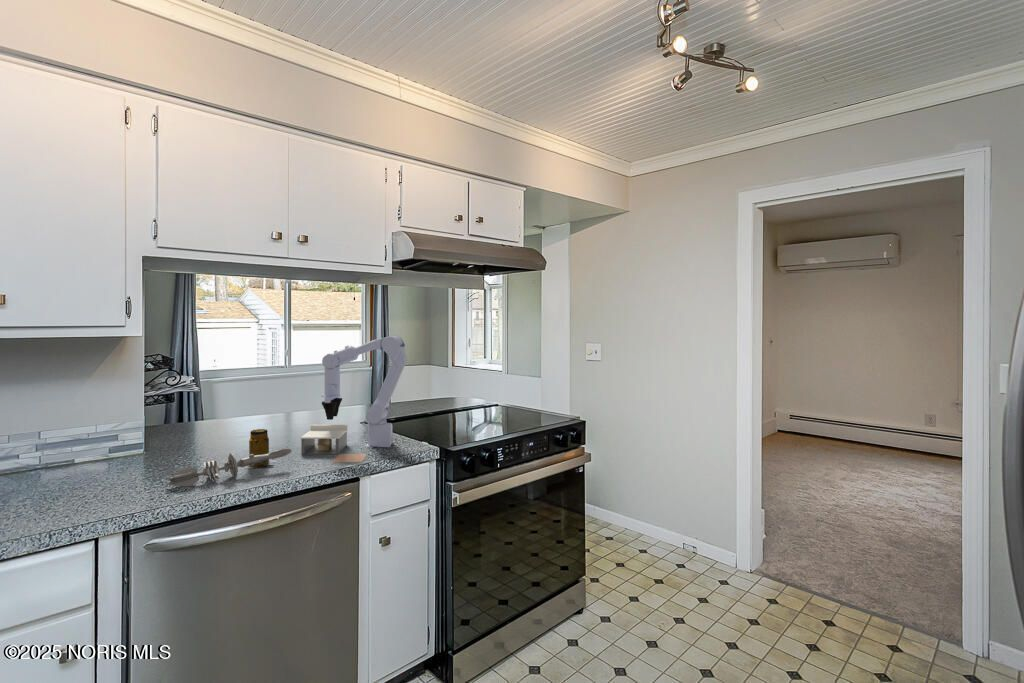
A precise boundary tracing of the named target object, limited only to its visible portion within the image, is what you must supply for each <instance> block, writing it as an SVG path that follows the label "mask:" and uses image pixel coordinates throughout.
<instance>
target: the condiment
mask: <svg viewBox="0 0 1024 683" xmlns="http://www.w3.org/2000/svg"><path fill="white" fill-rule="evenodd" d="M268 431H269V430H268V429H265V428H258V429H252V430H251V431H250V433H249V435H250V436H249V437H250V438H249V441H248V444H249V446H248V447H249V449H248V452H249V453H248V455H251V454H254V456H255V455H264V454H269V453H270V438H269V434H268V433H269V432H268ZM269 463H270V459H268V460H264V461H261V462H259V463H257V464H254V466H253V467H249V466H245V469H259V468H260V469H261V468H273V467H275V464H269Z"/></svg>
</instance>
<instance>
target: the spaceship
mask: <svg viewBox="0 0 1024 683" xmlns="http://www.w3.org/2000/svg"><path fill="white" fill-rule="evenodd" d="M290 453H292V449H291V448H282V449H277V450H273V451H271V452H269V454H264V455H255V456H254V454H251V455H249V454H248V455H249V456H247V457H243V458H241V459H239V460H237V459H236V457H235V455H234V454H233V453H232V452H230V453H229V454H228V456H227V457H228V458H227V459H228V460H227V461H225V462H224V464H223V466H222V465H221V466H219V465H218V464H217V460H211V461H207V462H206V461H205V462H203V466H204V468H203V470H202V471H198V468H196V467H193V466H192V467H191V466H187V467H185V468H183V469H181V470H179V471H177V472H175V473H174V474H173V475H171V476H168V477H167V478H166V480H167V481H168V482H167V486H174V487H186V486H187V487H192V485H193V486H194V485H195V484H196V483H197V482H199V480H200V476H204V477H205V478H206V481H207V480H208V481H207V482H211V481H216V479H217V480H219V479H220V477H219V474H220V471H225V473H228V472H229V473H230V475H231V476H232V477H233V478H234V479H235V478H237V477H238V473H239V468H246V467H248V466H249V467H253V466H254V464H257V463H259V462H261V461H264V460H268V459H269V460H275V459H280V458H283V457H285V456H287V455H289V454H290ZM212 479H213V480H212Z"/></svg>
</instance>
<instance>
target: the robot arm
mask: <svg viewBox="0 0 1024 683" xmlns="http://www.w3.org/2000/svg"><path fill="white" fill-rule="evenodd" d="M374 350H380V351H381V350H383V351H384V352H385V353H386V354H387V356H389V359H390V360H391V364H390V366H389V369H388V371H387V374H386V376H385V378H384V381H383V383H382V385H381V388H380V390H379V393H378V394H377V398H376V399H375V401H374V402H373V403H372V405H371V407H370V408H369V409H368V410H367V412H366V413H365V419H366V420H367V443H366V444H365V448H366V447H380V448H390V447H391V446H392V444H393V443H394V441H393V439H394V438H393V423H391V422H387V417H388V415H389V407H390V401H391V399H392V396H393V393H394V392H395V390H396V387H397V385H398V382H399V380H400V379H401V375H402V373H403V370H404V369H405V366H406V364H407V354H406V343H405V341H404V340H403V338H402V337H401V336H400V335H397V334H396V335H395V334H394V335H390V336H385V337H380V338H376V339H373V340H371V341H368V342H365V343H364V344H361V345H359V346H357V347H355V346H353V345H346V346H344V348H342V349H339V350H334V351H333V352H332V353H327V354H325V355H324V356H323V357H322V360H321V363H322V366H323V367H324V394H321V397H322V398H324V400H323V401H321V405H322V407H323V410H324V413H325V416H326V420H329V421H330V420H334V417H337V416H338V414H339V409H340V406H341V403H342V401H343V398H342V397H341V370H340V369H341V366H343V365H345V364H348V363H351V362H353V361H356V360H358V358H359V356H360V355H363V354H365V353H368V352H371V351H374Z"/></svg>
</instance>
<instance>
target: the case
mask: <svg viewBox="0 0 1024 683" xmlns="http://www.w3.org/2000/svg"><path fill="white" fill-rule="evenodd" d="M300 441H301V444H300V447H301V448H300V450H301V455H339V454H341V452H342V451H343V450H344V449H345V448H346V447H347V446H348V431H347V432H346V433H344V434H343V435H342V436H341V437H340V438H339V439H335V444H332V448H331V449H330V450H329V451H318V444H315V443H316V439H301V438H300Z"/></svg>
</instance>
